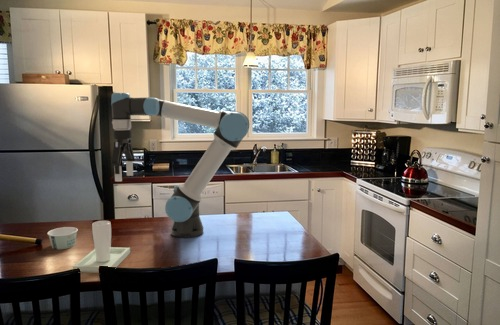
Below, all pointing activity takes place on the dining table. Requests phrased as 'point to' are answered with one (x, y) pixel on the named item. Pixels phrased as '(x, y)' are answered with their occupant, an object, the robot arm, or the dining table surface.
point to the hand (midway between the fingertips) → (124, 178)
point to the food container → (63, 237)
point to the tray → (92, 265)
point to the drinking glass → (102, 240)
